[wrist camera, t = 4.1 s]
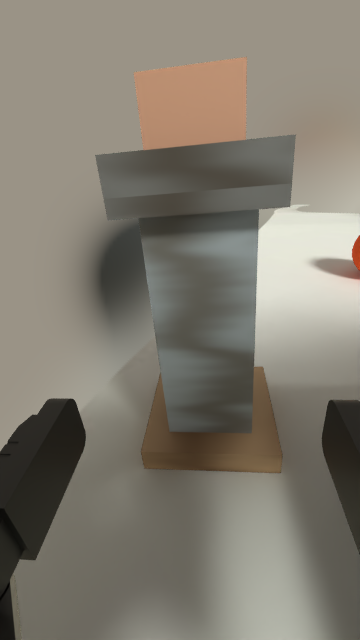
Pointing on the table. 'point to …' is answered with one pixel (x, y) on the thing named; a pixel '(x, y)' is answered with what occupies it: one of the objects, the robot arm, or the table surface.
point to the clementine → (356, 253)
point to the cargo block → (192, 104)
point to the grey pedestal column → (204, 294)
